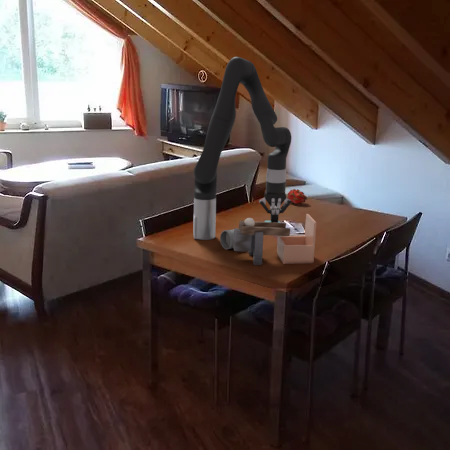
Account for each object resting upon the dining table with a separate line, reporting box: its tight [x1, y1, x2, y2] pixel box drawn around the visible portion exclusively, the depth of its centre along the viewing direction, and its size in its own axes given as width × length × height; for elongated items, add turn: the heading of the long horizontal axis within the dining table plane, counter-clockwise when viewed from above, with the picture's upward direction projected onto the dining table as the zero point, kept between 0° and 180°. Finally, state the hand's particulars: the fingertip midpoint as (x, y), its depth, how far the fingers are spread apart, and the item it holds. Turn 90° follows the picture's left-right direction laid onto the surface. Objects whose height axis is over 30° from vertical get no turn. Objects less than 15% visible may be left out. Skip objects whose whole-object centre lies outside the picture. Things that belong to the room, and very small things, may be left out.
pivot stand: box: [247, 231, 264, 266], centre depth 209 cm, size 3×13×12 cm, turn 7°
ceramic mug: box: [219, 229, 234, 250], centre depth 224 cm, size 11×8×8 cm
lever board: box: [232, 219, 291, 253], centre depth 212 cm, size 20×16×10 cm
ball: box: [243, 217, 256, 227], centre depth 207 cm, size 4×4×4 cm
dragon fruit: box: [286, 188, 308, 206], centre depth 293 cm, size 8×8×12 cm
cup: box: [276, 213, 317, 265], centre depth 211 cm, size 12×12×16 cm
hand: (274, 223), depth 216 cm, fingers closed
